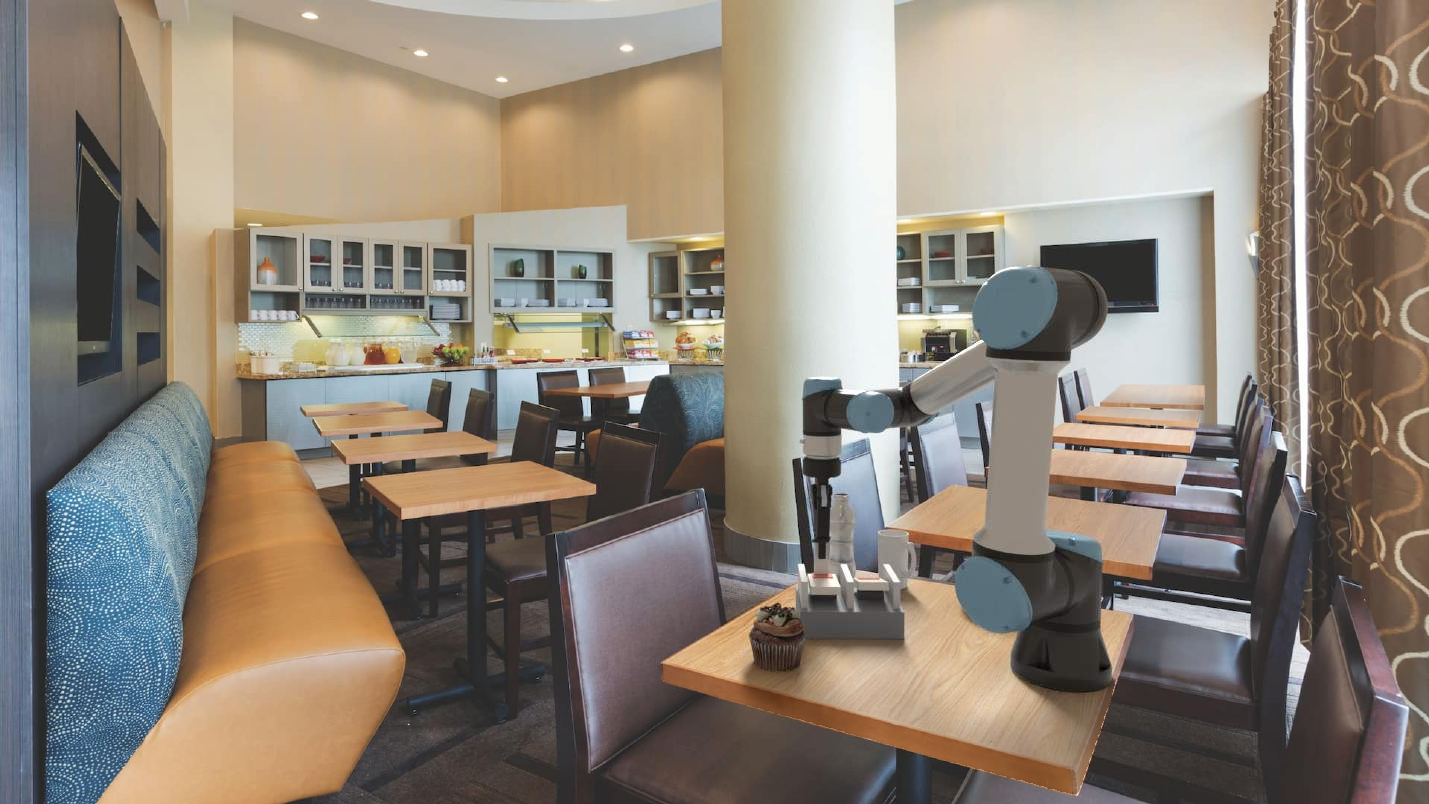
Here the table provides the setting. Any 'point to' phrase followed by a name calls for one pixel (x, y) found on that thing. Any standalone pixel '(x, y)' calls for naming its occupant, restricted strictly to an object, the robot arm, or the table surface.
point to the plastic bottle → (841, 535)
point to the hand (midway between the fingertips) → (821, 572)
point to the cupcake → (777, 638)
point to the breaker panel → (851, 609)
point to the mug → (896, 554)
